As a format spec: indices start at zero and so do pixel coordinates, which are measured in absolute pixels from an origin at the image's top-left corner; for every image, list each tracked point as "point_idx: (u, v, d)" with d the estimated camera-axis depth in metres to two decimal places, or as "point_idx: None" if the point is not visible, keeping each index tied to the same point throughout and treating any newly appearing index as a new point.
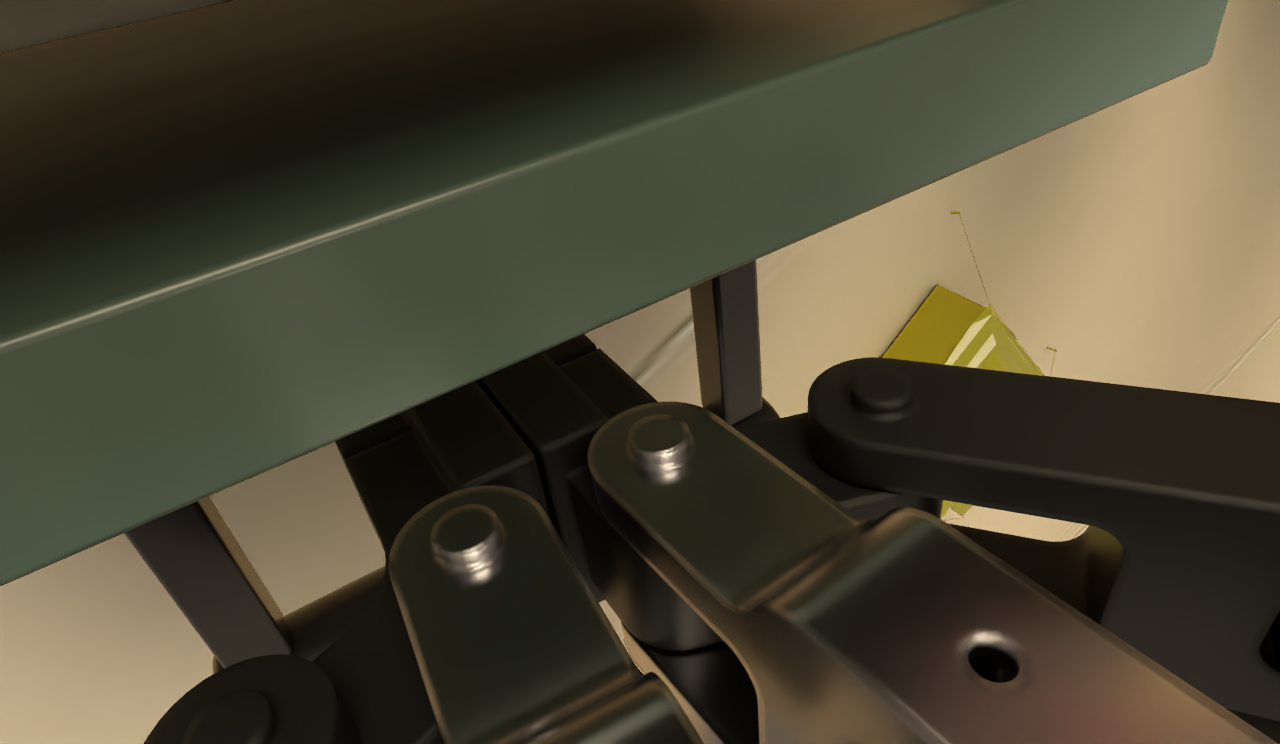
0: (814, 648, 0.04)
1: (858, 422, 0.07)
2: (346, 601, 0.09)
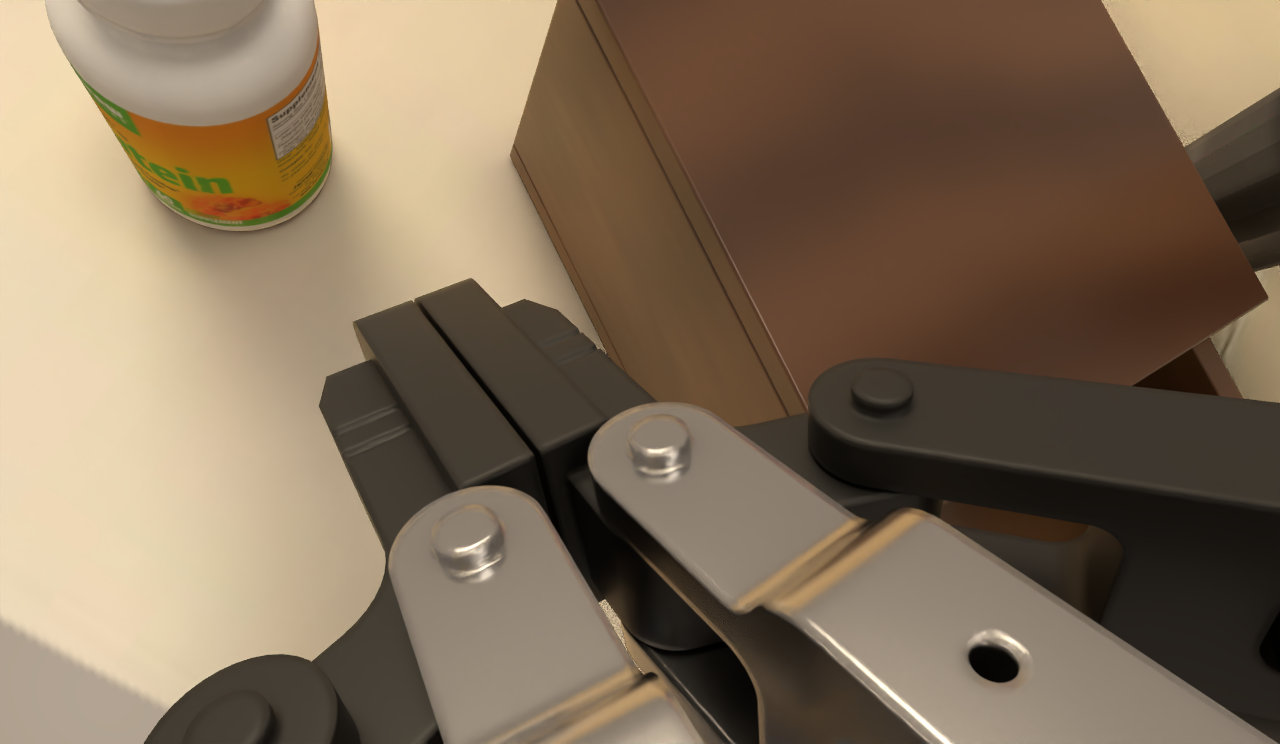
0: (813, 647, 0.04)
1: (859, 422, 0.07)
2: None
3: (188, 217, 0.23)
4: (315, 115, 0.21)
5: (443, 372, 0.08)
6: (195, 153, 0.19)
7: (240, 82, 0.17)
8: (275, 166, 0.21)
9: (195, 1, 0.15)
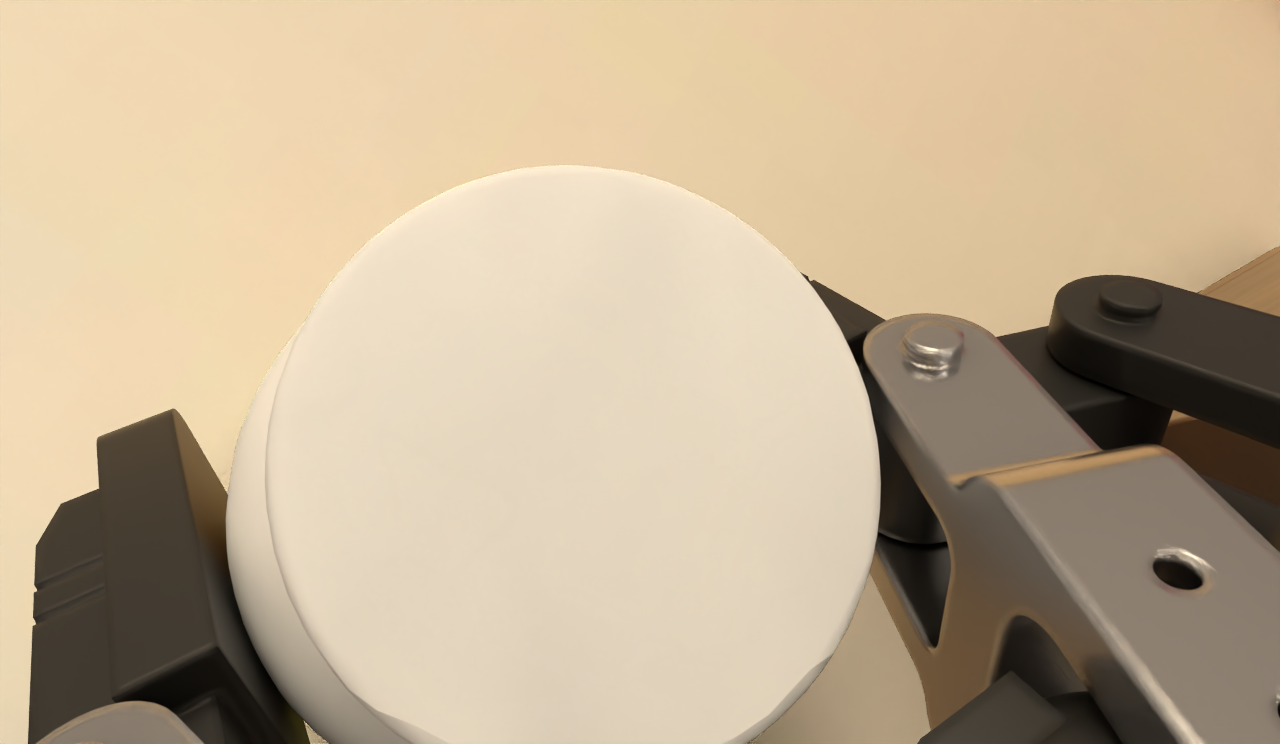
0: (1007, 514, 0.05)
1: (1114, 326, 0.07)
2: None
3: None
4: None
5: (164, 515, 0.07)
6: None
7: None
8: None
9: (743, 741, 0.05)
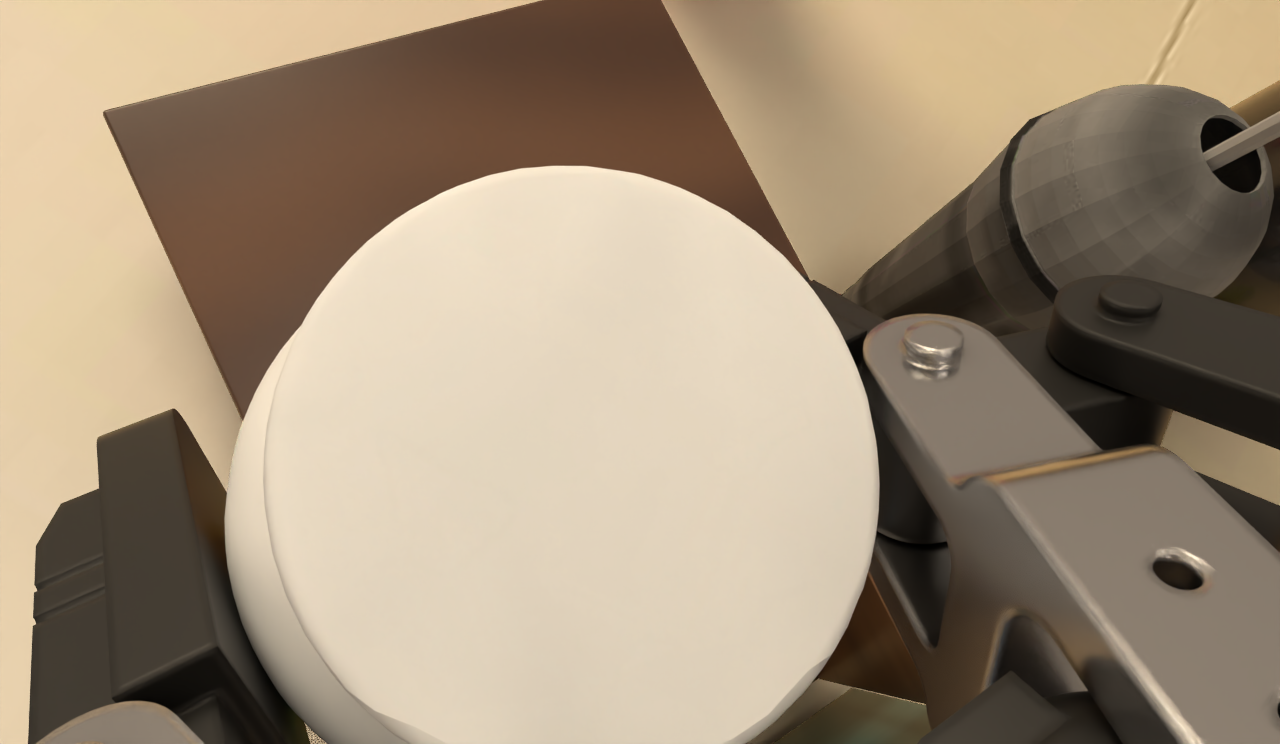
0: (1006, 514, 0.05)
1: (1113, 326, 0.07)
2: None
3: None
4: None
5: (165, 515, 0.07)
6: None
7: None
8: None
9: (742, 741, 0.05)
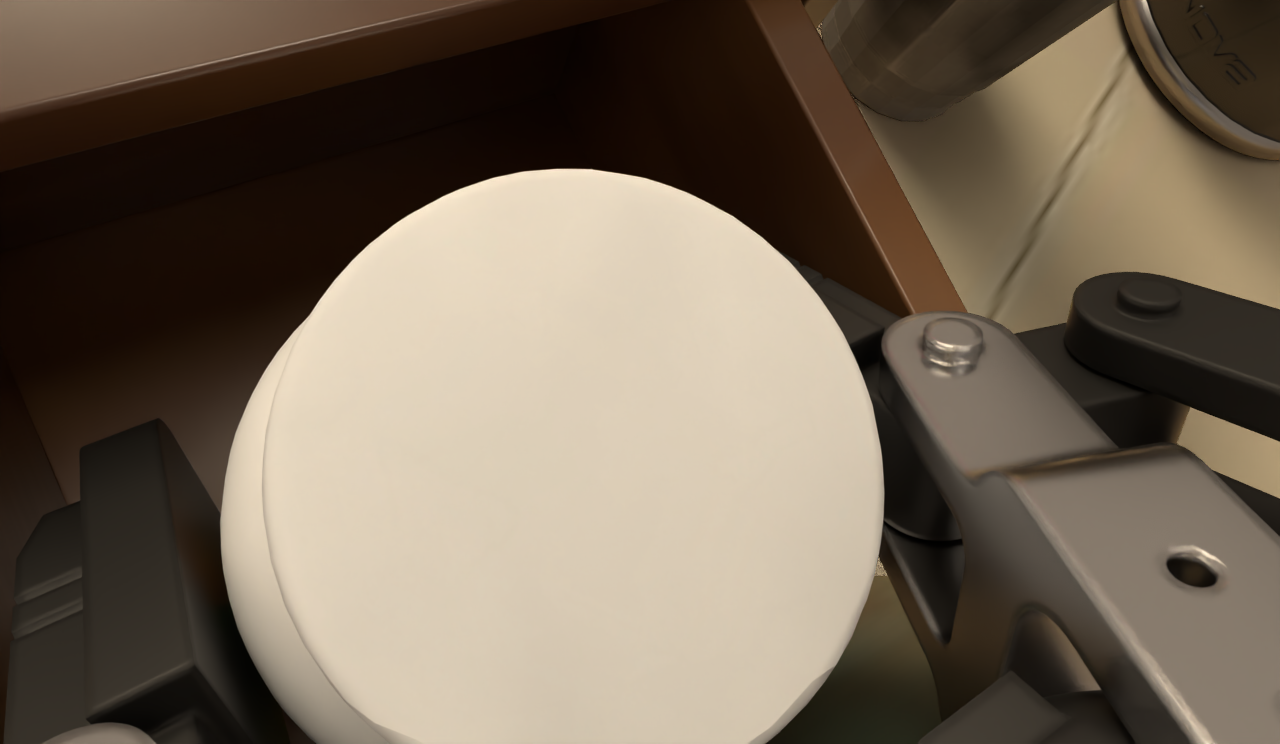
0: (1022, 508, 0.05)
1: (1132, 323, 0.07)
2: None
3: None
4: None
5: (145, 528, 0.07)
6: None
7: None
8: None
9: None
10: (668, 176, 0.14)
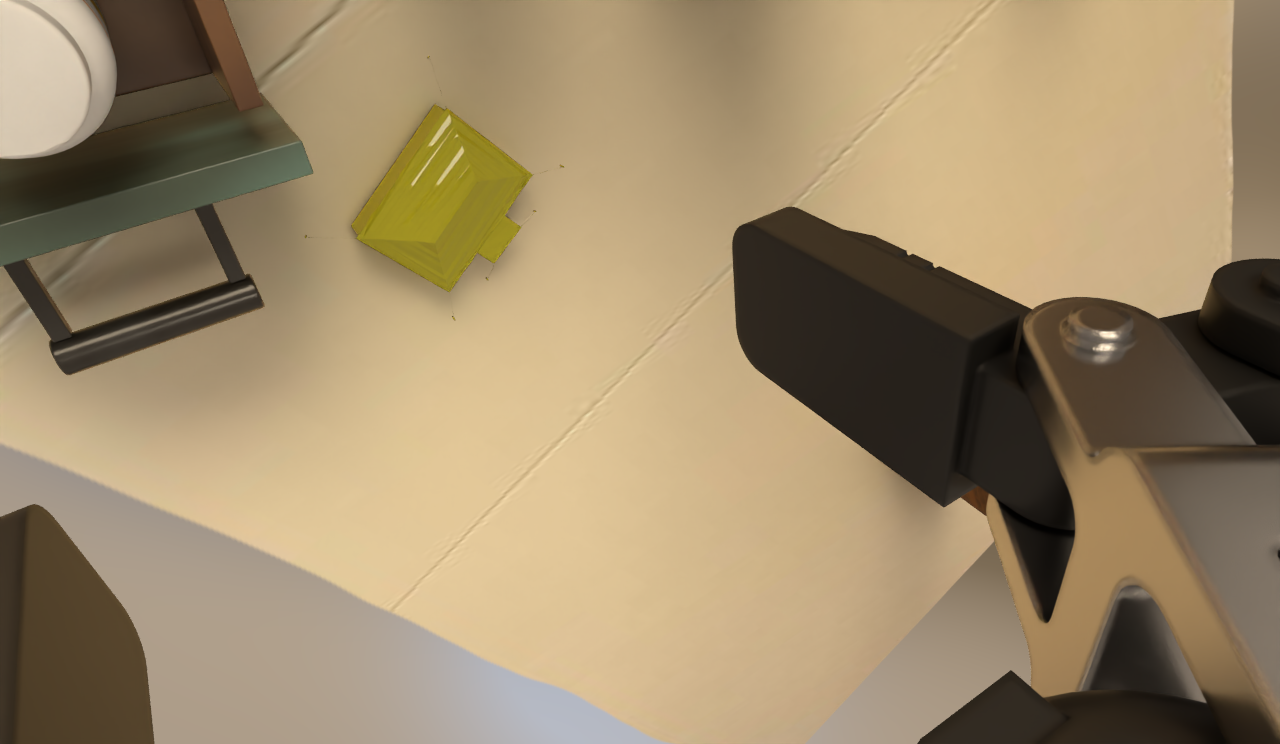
0: (1134, 483, 0.05)
1: None
2: (91, 326, 0.29)
3: None
4: None
5: None
6: None
7: (60, 146, 0.23)
8: None
9: (38, 155, 0.21)
10: None
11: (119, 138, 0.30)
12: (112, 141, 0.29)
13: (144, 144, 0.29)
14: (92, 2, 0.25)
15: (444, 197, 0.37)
